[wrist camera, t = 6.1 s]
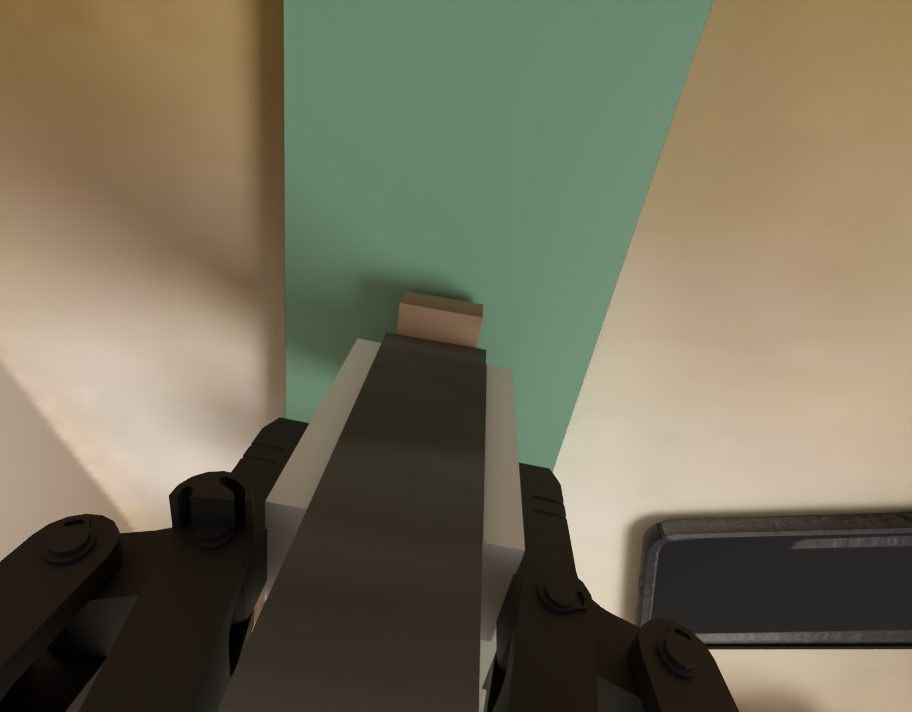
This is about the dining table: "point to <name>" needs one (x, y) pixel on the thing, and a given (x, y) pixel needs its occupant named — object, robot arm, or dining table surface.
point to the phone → (782, 580)
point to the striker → (387, 541)
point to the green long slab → (472, 179)
